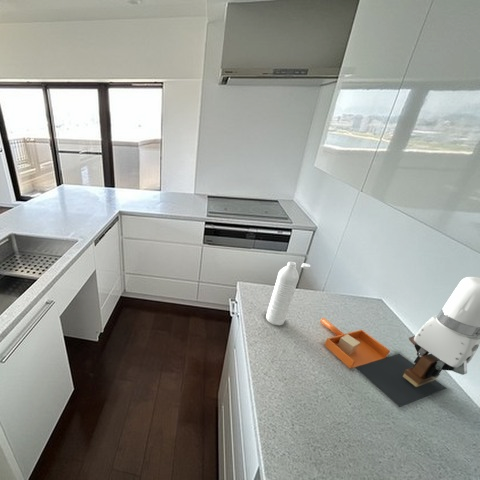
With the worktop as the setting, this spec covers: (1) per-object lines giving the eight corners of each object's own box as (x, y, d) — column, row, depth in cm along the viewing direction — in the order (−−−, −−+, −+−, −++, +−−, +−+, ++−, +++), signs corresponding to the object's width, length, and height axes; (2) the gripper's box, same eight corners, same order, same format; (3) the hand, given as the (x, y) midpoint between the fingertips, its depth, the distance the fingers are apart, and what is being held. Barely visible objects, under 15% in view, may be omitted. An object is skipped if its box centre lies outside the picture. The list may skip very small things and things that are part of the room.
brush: (420, 369, 78) (434, 348, 74) (435, 380, 74) (451, 359, 71) (401, 376, 75) (415, 354, 72) (416, 387, 72) (432, 366, 68)
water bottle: (266, 323, 94) (283, 265, 84) (265, 312, 100) (280, 256, 90) (291, 329, 92) (312, 270, 82) (288, 317, 98) (308, 261, 88)
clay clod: (343, 342, 87) (347, 334, 86) (355, 351, 84) (360, 342, 82) (336, 346, 86) (340, 337, 84) (349, 355, 82) (353, 346, 81)
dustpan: (385, 358, 83) (390, 350, 81) (350, 369, 78) (354, 361, 77) (335, 319, 98) (338, 312, 97) (303, 326, 94) (305, 319, 93)
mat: (398, 354, 84) (399, 353, 84) (446, 388, 74) (446, 388, 74) (354, 367, 79) (354, 367, 79) (399, 407, 68) (399, 406, 68)
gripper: (512, 343, 60) (468, 394, 68) (430, 300, 74) (401, 347, 82) (494, 350, 58) (450, 401, 66) (413, 304, 72) (385, 351, 79)
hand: (423, 370), depth 74 cm, fingers closed on brush, 2 cm apart
